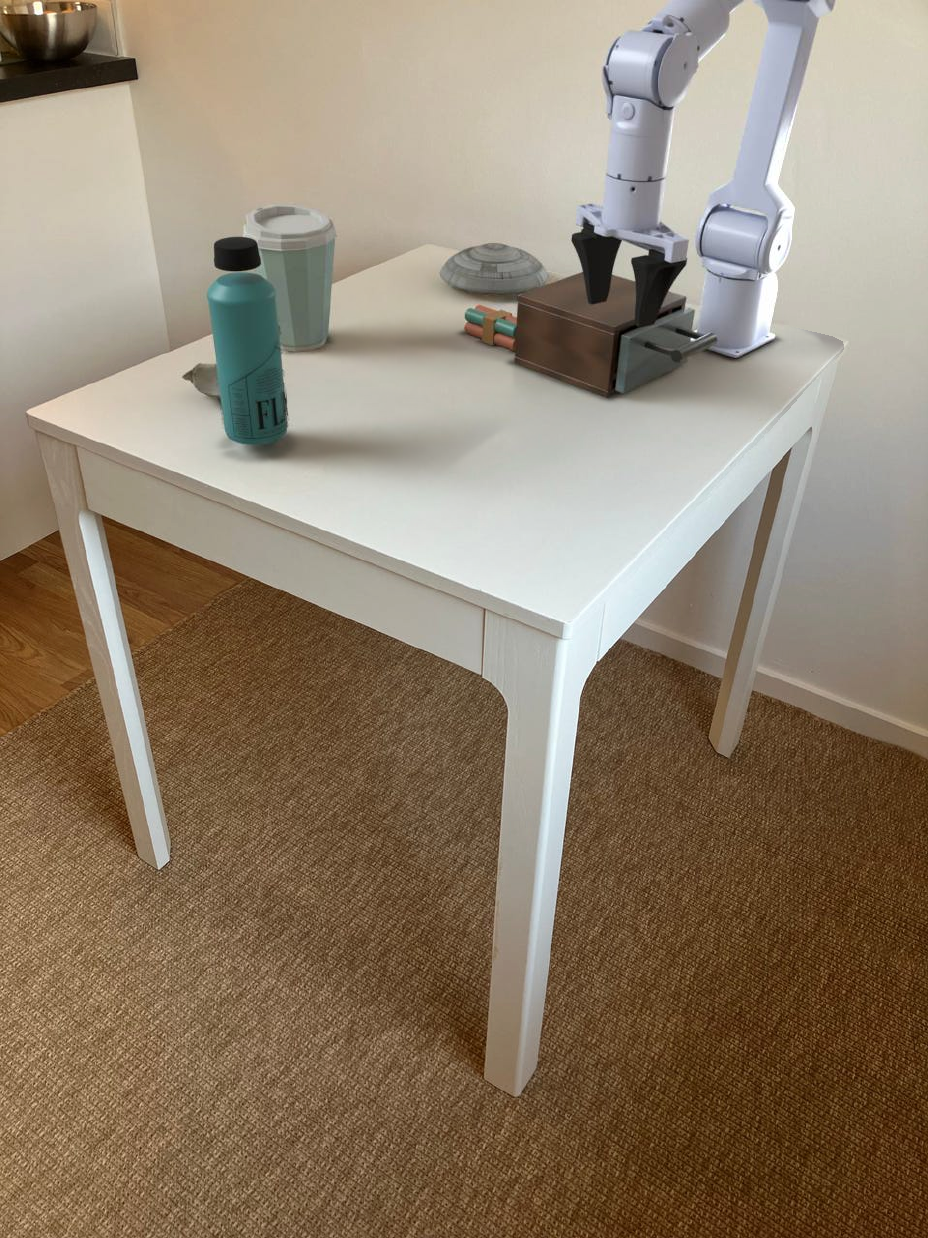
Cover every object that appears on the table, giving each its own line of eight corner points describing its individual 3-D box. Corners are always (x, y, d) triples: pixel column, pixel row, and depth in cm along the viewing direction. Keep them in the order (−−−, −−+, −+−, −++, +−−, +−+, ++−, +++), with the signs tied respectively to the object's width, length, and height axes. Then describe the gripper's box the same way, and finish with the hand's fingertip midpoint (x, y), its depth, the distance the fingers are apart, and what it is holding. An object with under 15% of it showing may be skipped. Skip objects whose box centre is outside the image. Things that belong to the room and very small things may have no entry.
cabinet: (676, 364, 123) (686, 296, 118) (607, 398, 115) (614, 326, 110) (585, 333, 130) (591, 268, 126) (514, 362, 122) (517, 294, 118)
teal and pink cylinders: (463, 334, 129) (464, 309, 127) (481, 327, 131) (482, 302, 129) (512, 352, 125) (513, 326, 123) (530, 345, 127) (531, 319, 125)
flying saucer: (512, 311, 136) (514, 269, 133) (418, 288, 143) (418, 247, 139) (567, 280, 146) (570, 240, 143) (477, 260, 153) (478, 221, 150)
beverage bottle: (261, 466, 101) (239, 256, 89) (210, 448, 103) (182, 242, 92) (304, 440, 105) (288, 237, 93) (254, 424, 108) (232, 225, 96)
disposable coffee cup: (360, 338, 127) (355, 211, 118) (304, 367, 120) (294, 234, 111) (293, 320, 132) (283, 196, 123) (235, 347, 125) (220, 217, 116)
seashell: (239, 427, 111) (278, 384, 116) (237, 405, 109) (276, 362, 113) (173, 401, 113) (214, 359, 117) (169, 379, 110) (211, 337, 115)
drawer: (723, 374, 119) (733, 320, 115) (661, 407, 111) (669, 350, 107) (601, 333, 128) (606, 282, 124) (536, 361, 121) (539, 307, 117)
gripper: (556, 163, 103) (547, 298, 111) (655, 197, 93) (637, 343, 101) (611, 155, 106) (598, 287, 114) (712, 187, 97) (691, 329, 105)
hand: (620, 313), depth 108 cm, fingers open, 7 cm apart
